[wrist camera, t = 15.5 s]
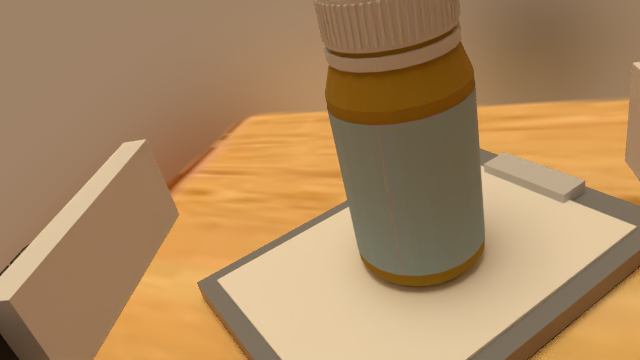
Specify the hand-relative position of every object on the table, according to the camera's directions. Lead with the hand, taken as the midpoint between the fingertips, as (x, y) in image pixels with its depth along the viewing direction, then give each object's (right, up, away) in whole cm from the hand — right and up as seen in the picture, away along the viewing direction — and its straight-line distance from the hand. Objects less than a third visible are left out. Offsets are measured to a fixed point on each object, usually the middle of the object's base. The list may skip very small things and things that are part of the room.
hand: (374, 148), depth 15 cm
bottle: (+4, -5, +16) cm, 17 cm away
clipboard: (+5, -6, +16) cm, 18 cm away
